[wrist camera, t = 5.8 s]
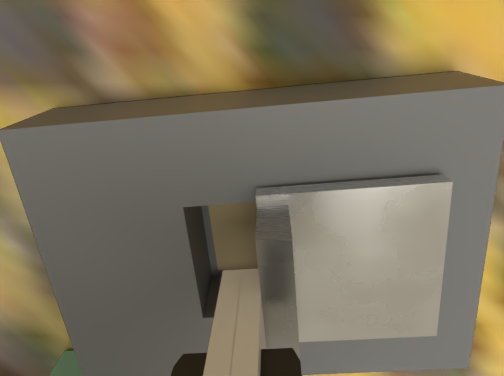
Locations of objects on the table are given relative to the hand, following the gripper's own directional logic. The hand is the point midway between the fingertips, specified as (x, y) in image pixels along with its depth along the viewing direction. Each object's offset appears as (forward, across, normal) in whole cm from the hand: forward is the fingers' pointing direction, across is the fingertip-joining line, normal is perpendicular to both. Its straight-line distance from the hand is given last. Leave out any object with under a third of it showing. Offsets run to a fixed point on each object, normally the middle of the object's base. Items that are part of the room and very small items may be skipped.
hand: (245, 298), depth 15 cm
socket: (+7, 0, 0) cm, 7 cm away
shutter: (+2, +4, 0) cm, 5 cm away
